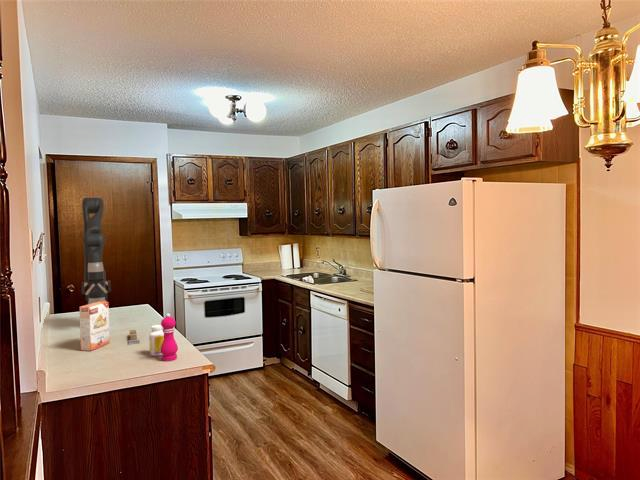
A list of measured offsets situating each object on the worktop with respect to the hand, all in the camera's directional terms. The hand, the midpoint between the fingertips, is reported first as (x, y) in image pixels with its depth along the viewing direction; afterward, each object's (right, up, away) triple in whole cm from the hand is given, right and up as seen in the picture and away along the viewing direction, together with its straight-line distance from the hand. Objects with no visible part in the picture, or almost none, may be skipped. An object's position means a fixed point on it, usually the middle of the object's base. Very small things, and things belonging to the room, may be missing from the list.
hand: (96, 300), depth 254 cm
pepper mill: (+54, -19, -48) cm, 75 cm away
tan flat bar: (+25, -18, -15) cm, 34 cm away
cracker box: (+12, -19, -27) cm, 35 cm away
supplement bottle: (+47, -19, -41) cm, 65 cm away
